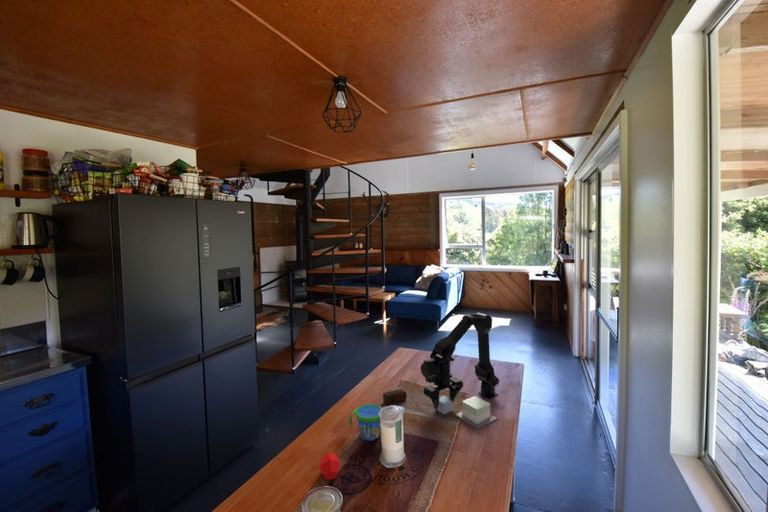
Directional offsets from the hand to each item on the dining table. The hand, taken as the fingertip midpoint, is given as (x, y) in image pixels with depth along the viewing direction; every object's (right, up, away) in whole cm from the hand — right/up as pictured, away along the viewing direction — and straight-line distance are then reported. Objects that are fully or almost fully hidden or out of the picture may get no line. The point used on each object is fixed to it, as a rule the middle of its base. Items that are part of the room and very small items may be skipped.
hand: (443, 406), depth 144 cm
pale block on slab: (+12, -2, -6) cm, 14 cm away
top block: (0, -2, 0) cm, 2 cm away
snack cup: (-32, -4, -17) cm, 36 cm away
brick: (-21, -2, +9) cm, 23 cm away
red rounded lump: (-44, -5, -37) cm, 58 cm away
